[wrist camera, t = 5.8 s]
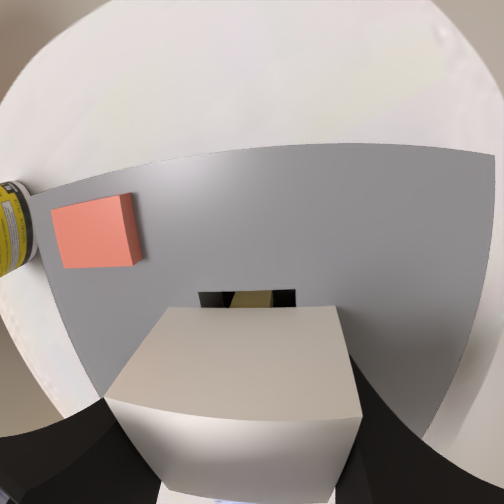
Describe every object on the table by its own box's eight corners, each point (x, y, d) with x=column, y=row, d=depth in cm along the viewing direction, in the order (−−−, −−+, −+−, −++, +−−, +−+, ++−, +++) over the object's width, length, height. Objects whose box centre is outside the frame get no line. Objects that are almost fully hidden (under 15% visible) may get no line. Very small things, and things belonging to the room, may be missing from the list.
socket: (406, 415, 12) (418, 455, 9) (144, 415, 14) (126, 450, 12) (455, 153, 8) (506, 156, 5) (68, 186, 10) (17, 199, 7)
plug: (317, 409, 11) (320, 516, 6) (214, 406, 12) (184, 506, 7) (327, 279, 9) (362, 416, 4) (186, 283, 10) (103, 396, 5)
